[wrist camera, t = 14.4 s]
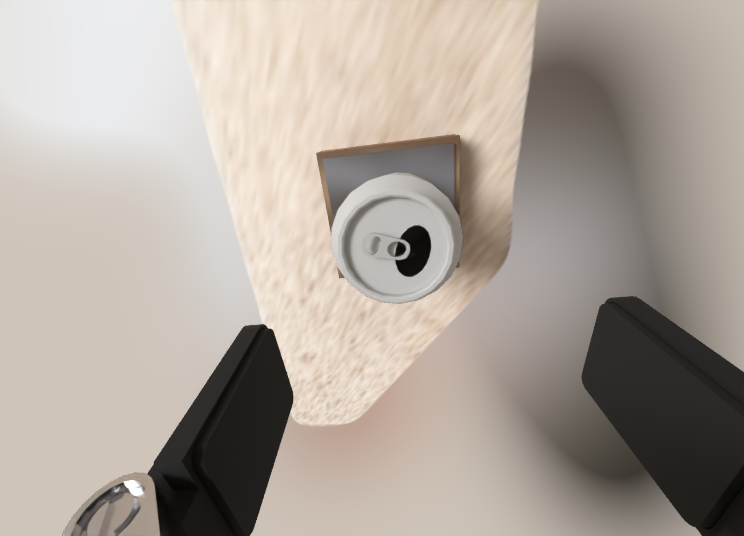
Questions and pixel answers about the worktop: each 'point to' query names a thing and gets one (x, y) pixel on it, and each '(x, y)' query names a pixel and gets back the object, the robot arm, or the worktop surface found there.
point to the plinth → (390, 168)
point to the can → (397, 238)
